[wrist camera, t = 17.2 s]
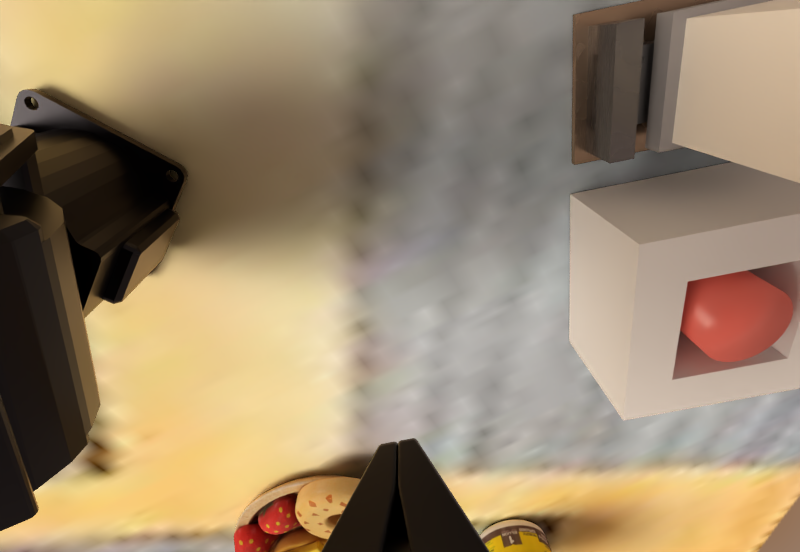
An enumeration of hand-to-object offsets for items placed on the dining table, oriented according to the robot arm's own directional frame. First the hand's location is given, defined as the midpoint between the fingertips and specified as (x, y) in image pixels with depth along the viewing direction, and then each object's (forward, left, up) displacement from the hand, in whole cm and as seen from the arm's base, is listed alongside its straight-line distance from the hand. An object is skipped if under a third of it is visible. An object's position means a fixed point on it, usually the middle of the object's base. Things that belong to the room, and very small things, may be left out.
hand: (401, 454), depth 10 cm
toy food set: (+9, -22, -14) cm, 27 cm away
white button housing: (+13, +6, -13) cm, 19 cm away
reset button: (+13, +6, -12) cm, 19 cm away
